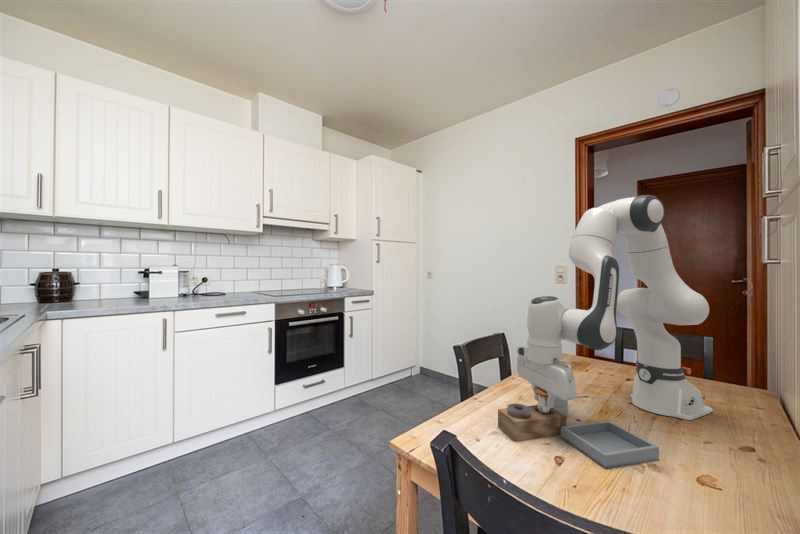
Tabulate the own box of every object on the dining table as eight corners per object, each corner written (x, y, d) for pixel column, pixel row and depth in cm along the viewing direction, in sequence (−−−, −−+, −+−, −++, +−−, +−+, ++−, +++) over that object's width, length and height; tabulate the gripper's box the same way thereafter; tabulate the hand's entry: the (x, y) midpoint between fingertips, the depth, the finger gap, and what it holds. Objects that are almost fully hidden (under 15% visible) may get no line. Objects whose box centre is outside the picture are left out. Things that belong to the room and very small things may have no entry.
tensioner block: (546, 421, 94) (546, 395, 94) (566, 434, 87) (566, 407, 87) (497, 426, 90) (498, 400, 91) (514, 441, 83) (514, 412, 83)
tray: (608, 431, 88) (608, 420, 89) (658, 459, 75) (658, 446, 75) (560, 438, 85) (561, 426, 85) (605, 468, 72) (605, 455, 72)
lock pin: (545, 425, 92) (545, 386, 92) (554, 431, 88) (555, 391, 88) (532, 426, 91) (533, 387, 91) (542, 433, 87) (542, 393, 87)
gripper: (582, 364, 80) (582, 419, 80) (531, 345, 100) (530, 389, 100) (561, 365, 79) (561, 421, 79) (513, 346, 99) (513, 391, 99)
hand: (543, 403), depth 90 cm, fingers closed on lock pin, 3 cm apart
